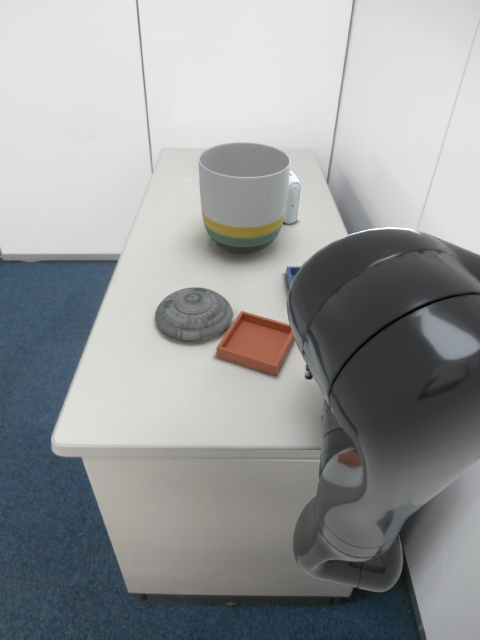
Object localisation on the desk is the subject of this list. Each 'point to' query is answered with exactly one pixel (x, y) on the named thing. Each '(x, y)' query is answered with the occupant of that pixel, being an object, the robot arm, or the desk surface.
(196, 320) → the flying saucer
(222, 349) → the terracotta tray
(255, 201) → the planter
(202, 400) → the desk surface
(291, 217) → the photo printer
